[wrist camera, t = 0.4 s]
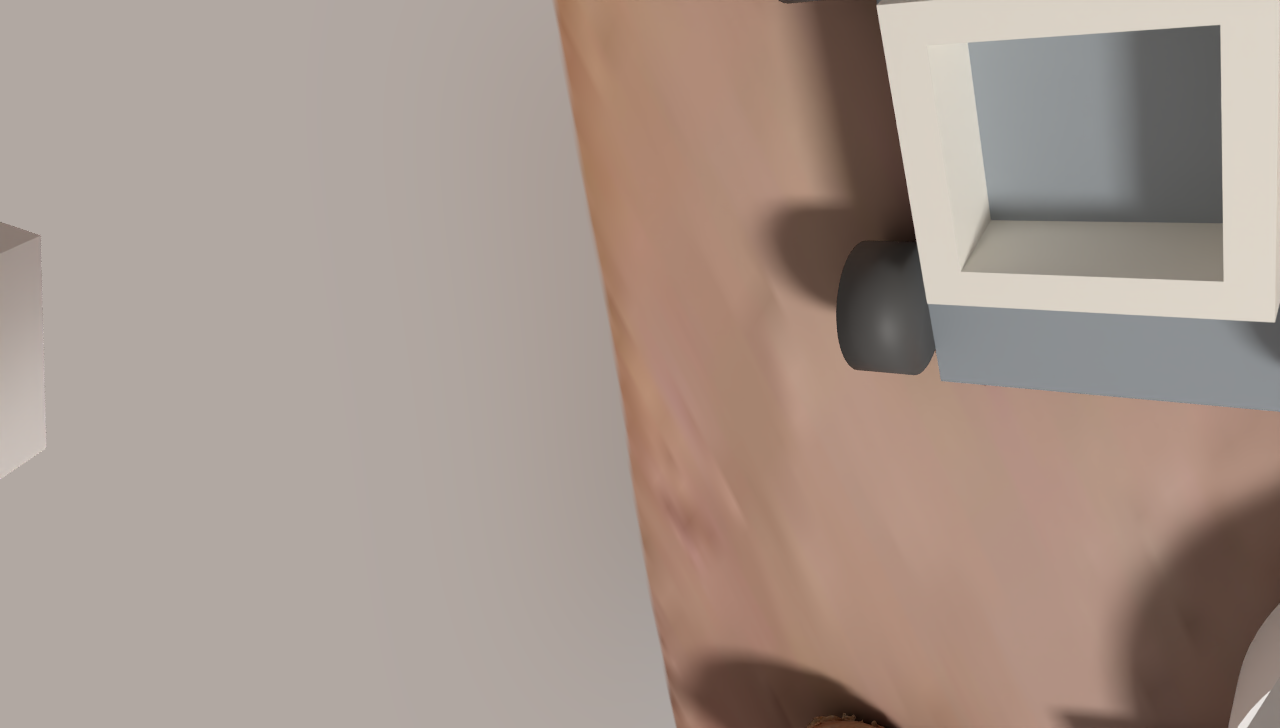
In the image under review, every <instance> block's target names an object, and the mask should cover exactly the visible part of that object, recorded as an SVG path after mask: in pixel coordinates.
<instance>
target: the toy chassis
mask: <svg viewBox="0 0 1280 728" xmlns="http://www.w3.org/2000/svg"><path fill="white" fill-rule="evenodd" d="M779 1H781V2H783V3H798V2H809V1H819V0H779ZM876 1H877V5H876V6H877V12H878V18H879V24H880V30H881V36H882V41H883V47H884V53H885V59H886V65H887V71H888V77H889V83H890V88H891V94H892V100H893V106H894V112H895V118H896V124H897V129H898V135H899V141H900V147H901V153H902V159H903V165H904V171H905V176H906V182H907V188H908V194H909V200H910V206H911V212H912V217H913V223H914V229H915V235H916V241H917V242H897V241H862V242H860V243H859V244H857V245H856V246H855V247H854V249H853V250H852V251H851V253H850V255H849V256H848V258H847V261H846V263H845V266H844V268H843V271H842V275H841V279H840V283H839V289H838V296H837V308H836V321H837V333H838V339H839V344H840V348H841V351H842V354H843V356H844V358H845V360H846V362H847V363H848V365H849V366H851V367H852V368H853V369H856V370H863V371H875V372H886V373H897V374H908V375H918V374H920V373H921V372H922V371H924V369H925V368H926V367H927V365H928V364H929V362H930V360H931V358H932V356H933V354H934V351H935V348H936V354H937V359H938V365H939V371H940V377H941V381H948V382H959V383H970V384H981V385H992V386H1003V387H1014V388H1025V389H1036V390H1047V391H1058V392H1069V393H1080V394H1091V395H1102V396H1113V397H1124V398H1135V399H1146V400H1157V401H1168V402H1179V403H1190V404H1201V405H1212V406H1223V407H1234V408H1245V409H1256V410H1267V411H1278V412H1280V0H876Z"/></svg>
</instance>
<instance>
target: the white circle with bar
mask: <svg viewBox="0 0 1280 728" xmlns="http://www.w3.org/2000/svg"><path fill="white" fill-rule="evenodd" d="M1279 677H1280V603H1279V604H1278V606H1277V607H1276V608H1275V609H1274V610H1273V611H1272V612H1271V613H1270V615H1269V616H1268V617H1267V619H1266V620H1265V622H1264V623H1263V624H1262V626H1261V627H1260V629H1259V630H1258V632H1257V633H1256V635H1255V637H1254V639H1253V641H1252V642H1251V644H1250V646H1249V648H1248V651H1247V653H1246V656H1245V658H1244V661H1243V663H1242V667H1241V671H1240V674H1239V678H1238V683H1237V687H1236V692H1235V697H1234V702H1233V706H1232V711H1231V716H1230V721H1229V725H1228V728H1247V727H1248V725H1249V724H1250V722H1251V721H1252V719H1253V718H1254V716H1255V715H1256V713H1257V711H1258V710H1259V708H1260V707H1261V705H1262V704H1263V702H1264V700H1265V699H1266V697H1267V696H1268V694H1269V693H1270V691H1271V689H1272V688H1273V686H1274V685H1275V683H1276V682H1277V680H1278V679H1279Z"/></svg>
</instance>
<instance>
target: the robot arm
mask: <svg viewBox="0 0 1280 728" xmlns="http://www.w3.org/2000/svg"><path fill="white" fill-rule="evenodd" d="M43 348H44V347H43V308H42V270H41V236H40V235H37V234H35V233H32V232H29V231H26V230H23V229H20V228H17V227H14V226H11V225H8V224H5V223H2V222H0V479H1V478H3V477H4V476H6V475H7V474H9V473H10V472H12V471H13V470H15V469H16V468H17V467H19V466H21V465H22V464H24V463H25V462H27V461H28V460H29V459H31V458H32V457H34V456H35V455H37V454H38V453H40V452H41V451H43V450H44V449H46V421H45V385H44V349H43ZM1247 728H1280V677H1279V679H1278V680H1277V682H1276V683H1275V685H1274V686H1273V688H1272V689H1271V691H1270V693H1269V694H1268V696H1267V697H1266V699H1265V700H1264V702H1263V704H1262V705H1261V707H1260V708H1259V710H1258V711H1257V713H1256V715H1255V716H1254V718H1253V719H1252V721H1251V722H1250V724H1249V725H1248V727H1247Z"/></svg>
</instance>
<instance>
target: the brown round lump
mask: <svg viewBox="0 0 1280 728" xmlns="http://www.w3.org/2000/svg"><path fill="white" fill-rule="evenodd" d="M855 719H856V717H855V716H854V715H853V716H847V715H846V713H843V715H842V718H841V719H840V718H839V717H837V716H833V715H830V716H827V717H824V716H820V717H815V718H813V721H812V722H810V723H809V724H808V727H806V728H885V727H882V726H880V725H878V724H877V723H876V721H873V722H871V725H869V724H866V723H863V720H862V721H854V720H855ZM809 725H810V726H809Z"/></svg>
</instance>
